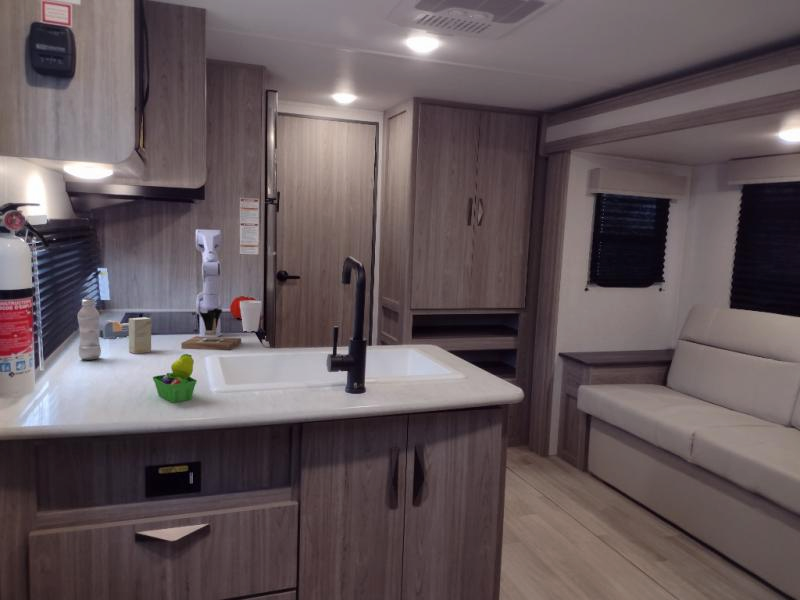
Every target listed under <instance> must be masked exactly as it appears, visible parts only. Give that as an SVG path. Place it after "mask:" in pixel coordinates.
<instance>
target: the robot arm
mask: <svg viewBox="0 0 800 600" xmlns="http://www.w3.org/2000/svg"><path fill="white" fill-rule="evenodd" d="M221 245H222V232H221V230H220V229H199V228H197V229H195V248H196V250H197V251H198V252H200V253H201V257H202V263H201V276H202V288H203V289H202V291H201V292H199V294H197V295H196V300H195V308H196V309H195V310H196V311H195V312H196V314H197V315H199V334H198V335H197V336H201V337H219V336H220V337H221V336H222V335H223V334H224V333H223V332H221V317H220V316H221V314H223V313H222V312H223V309H222V296H221V295H220V278H221V267H222V266H221V262H220V260H219V254H218V251H220V250H221ZM214 318H216V334H215V335H205V328H206V331H212V329H213V321H214Z"/></svg>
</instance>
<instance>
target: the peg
mask: <svg viewBox="0 0 800 600" xmlns="http://www.w3.org/2000/svg"><path fill="white" fill-rule="evenodd" d="M215 334H216V318H214V321H213V329H212V331H206V328H205V335H215Z"/></svg>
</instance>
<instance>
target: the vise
mask: <svg viewBox="0 0 800 600" xmlns="http://www.w3.org/2000/svg"><path fill="white" fill-rule="evenodd" d="M151 327H152V323H151ZM98 336H99V337H101V338H103V340H106V339H111V340H116V339H118V338H117V337H121V338H126V337H125V336H129V322H126V323H125V322H124V323H120V322H119V321H114V320H111V319H104V320H101V321H100V320H99V327H98ZM115 338H116V339H115Z"/></svg>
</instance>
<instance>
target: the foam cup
mask: <svg viewBox="0 0 800 600" xmlns="http://www.w3.org/2000/svg"><path fill="white" fill-rule="evenodd" d="M262 305H263V304H262V301H261V300H256V301H240V309H241V317H242V320H241V323H242V324H241V325H242V330H243V332H244V331H247V332H246V333H252V332H251V331H255V332H254V333H256V332H258V331H259V325H260V318H261V310H262V308H263V307H262Z"/></svg>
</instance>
